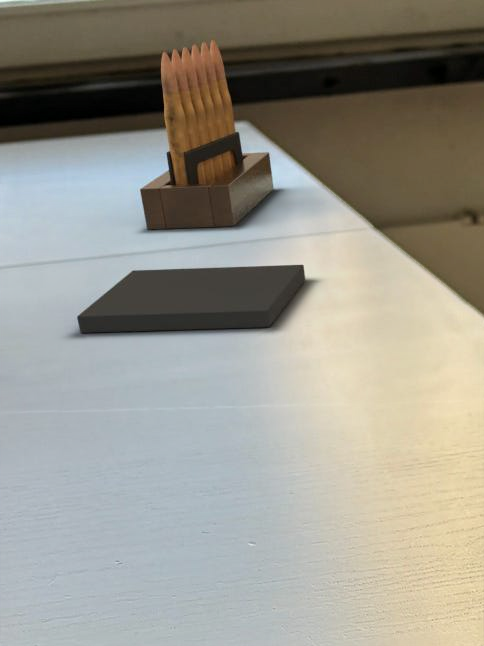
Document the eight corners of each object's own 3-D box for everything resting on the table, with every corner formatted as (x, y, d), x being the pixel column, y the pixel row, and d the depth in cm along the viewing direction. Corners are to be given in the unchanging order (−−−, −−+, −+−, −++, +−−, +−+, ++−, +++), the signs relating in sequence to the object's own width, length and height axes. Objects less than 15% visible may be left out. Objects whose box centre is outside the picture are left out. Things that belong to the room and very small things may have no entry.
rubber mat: (80, 333, 84) (76, 316, 83) (135, 285, 93) (132, 270, 93) (269, 327, 83) (267, 310, 82) (305, 279, 92) (303, 264, 92)
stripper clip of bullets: (230, 196, 120) (207, 38, 113) (249, 196, 119) (227, 38, 112) (175, 221, 111) (148, 53, 104) (196, 221, 111) (169, 52, 104)
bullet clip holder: (147, 229, 109) (139, 189, 107) (195, 192, 122) (190, 155, 120) (234, 226, 109) (228, 185, 107) (273, 189, 121) (269, 152, 120)
